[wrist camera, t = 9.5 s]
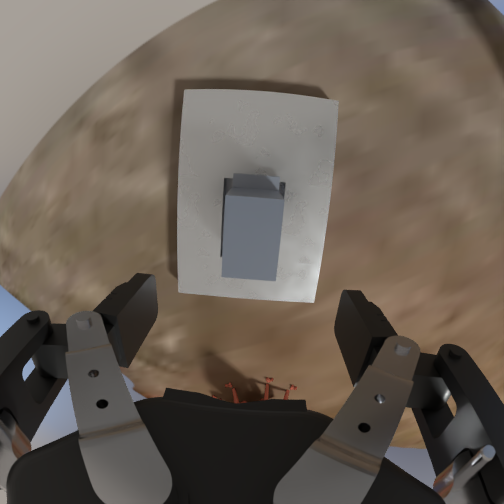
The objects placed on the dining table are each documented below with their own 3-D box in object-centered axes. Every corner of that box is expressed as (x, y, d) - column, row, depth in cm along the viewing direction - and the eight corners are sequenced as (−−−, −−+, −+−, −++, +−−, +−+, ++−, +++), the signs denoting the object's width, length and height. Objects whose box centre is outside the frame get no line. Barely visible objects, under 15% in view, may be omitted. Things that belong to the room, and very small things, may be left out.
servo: (278, 175, 26) (286, 182, 18) (269, 259, 29) (273, 295, 21) (235, 172, 26) (226, 177, 18) (230, 255, 29) (220, 291, 21)
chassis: (333, 104, 24) (338, 101, 22) (311, 294, 30) (313, 302, 28) (188, 93, 24) (184, 89, 22) (182, 284, 30) (178, 292, 28)
